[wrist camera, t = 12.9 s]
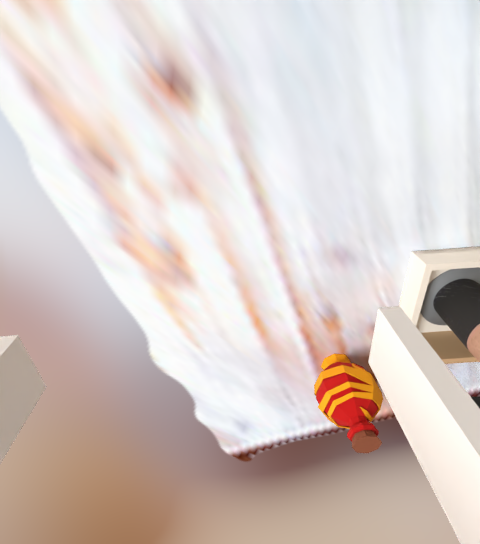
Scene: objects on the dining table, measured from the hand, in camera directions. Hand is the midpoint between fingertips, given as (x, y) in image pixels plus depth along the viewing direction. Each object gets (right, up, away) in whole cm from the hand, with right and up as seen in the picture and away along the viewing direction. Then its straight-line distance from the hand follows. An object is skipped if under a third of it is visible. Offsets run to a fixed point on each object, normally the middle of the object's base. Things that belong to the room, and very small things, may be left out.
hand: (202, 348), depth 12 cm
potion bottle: (+19, -14, +46) cm, 51 cm away
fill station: (+35, 0, +38) cm, 52 cm away
